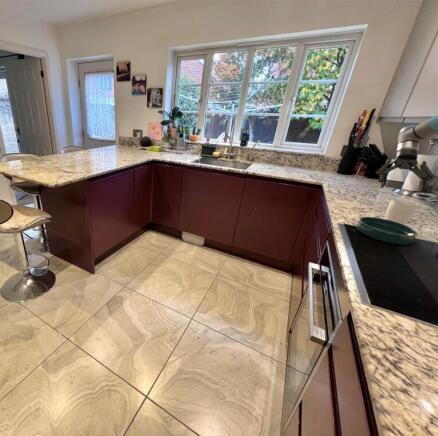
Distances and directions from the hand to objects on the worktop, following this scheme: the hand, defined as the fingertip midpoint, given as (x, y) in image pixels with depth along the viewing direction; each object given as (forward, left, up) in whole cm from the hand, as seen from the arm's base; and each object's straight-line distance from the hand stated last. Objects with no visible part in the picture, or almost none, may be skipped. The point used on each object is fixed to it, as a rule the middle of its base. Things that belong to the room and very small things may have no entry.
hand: (401, 188), depth 112 cm
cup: (-5, +9, -16) cm, 19 cm away
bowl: (-7, +27, -16) cm, 32 cm away
